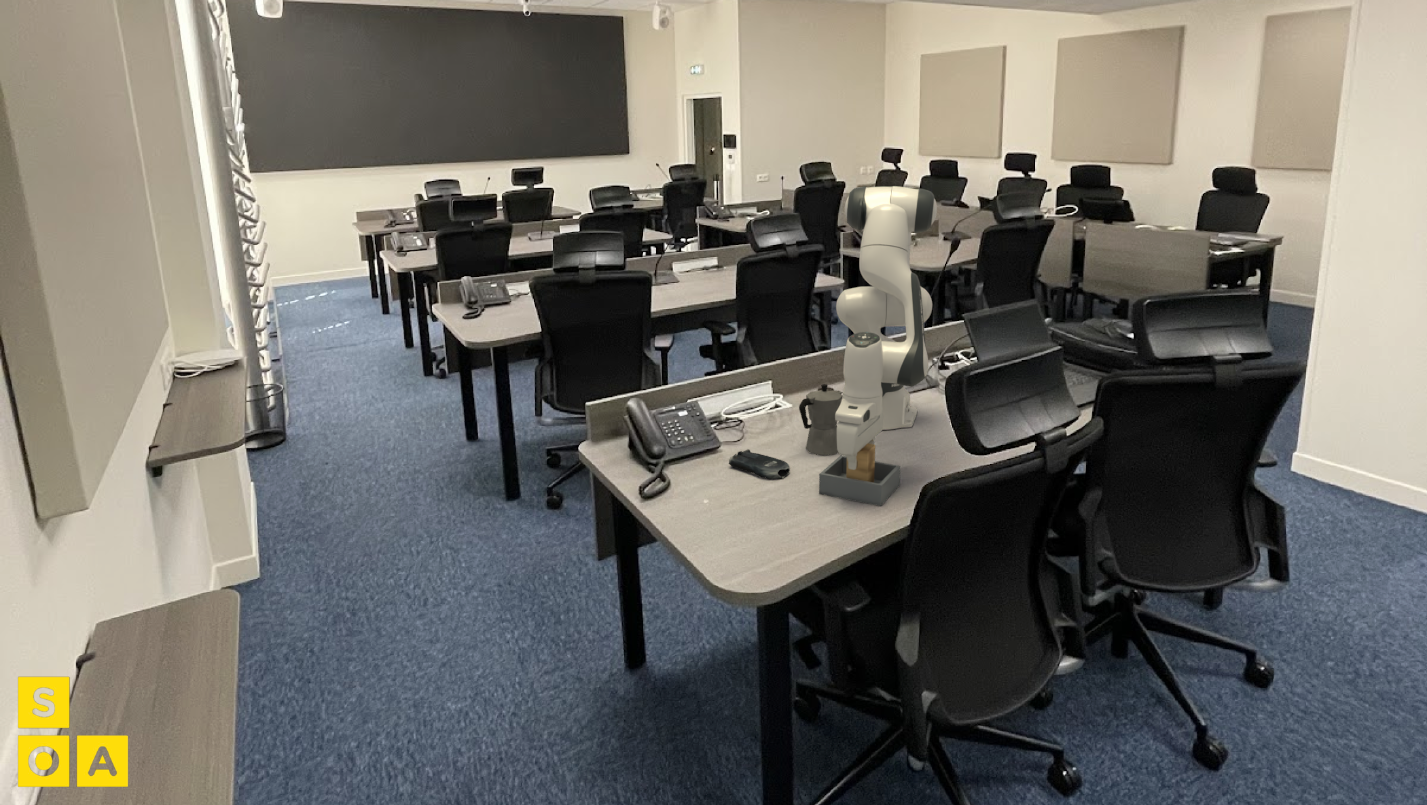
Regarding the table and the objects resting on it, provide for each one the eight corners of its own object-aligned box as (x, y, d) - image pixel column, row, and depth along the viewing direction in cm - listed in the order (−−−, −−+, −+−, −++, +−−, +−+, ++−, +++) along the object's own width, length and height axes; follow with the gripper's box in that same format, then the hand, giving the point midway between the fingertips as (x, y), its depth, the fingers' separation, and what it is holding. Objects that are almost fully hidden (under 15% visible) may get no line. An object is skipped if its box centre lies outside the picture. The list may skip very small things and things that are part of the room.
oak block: (853, 480, 207) (855, 441, 204) (874, 484, 204) (875, 444, 201) (846, 488, 203) (847, 448, 200) (866, 492, 200) (867, 451, 197)
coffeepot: (827, 439, 236) (828, 375, 231) (853, 448, 229) (855, 382, 224) (786, 453, 227) (786, 387, 221) (812, 463, 220) (813, 395, 214)
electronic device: (727, 475, 218) (774, 482, 208) (726, 453, 217) (773, 459, 208) (750, 469, 225) (797, 475, 215) (749, 448, 224) (796, 453, 215)
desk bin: (840, 474, 213) (840, 455, 211) (899, 485, 205) (900, 465, 204) (819, 493, 202) (819, 473, 200) (880, 506, 195) (881, 485, 193)
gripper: (865, 390, 207) (863, 444, 212) (832, 415, 191) (830, 474, 195) (890, 394, 204) (888, 448, 209) (859, 420, 188) (857, 479, 192)
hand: (860, 461), depth 202 cm, fingers open, 8 cm apart
